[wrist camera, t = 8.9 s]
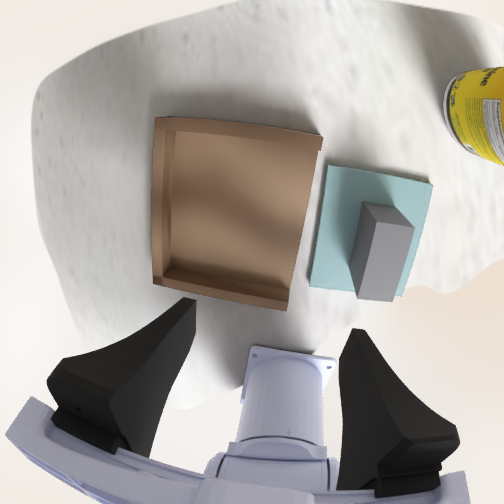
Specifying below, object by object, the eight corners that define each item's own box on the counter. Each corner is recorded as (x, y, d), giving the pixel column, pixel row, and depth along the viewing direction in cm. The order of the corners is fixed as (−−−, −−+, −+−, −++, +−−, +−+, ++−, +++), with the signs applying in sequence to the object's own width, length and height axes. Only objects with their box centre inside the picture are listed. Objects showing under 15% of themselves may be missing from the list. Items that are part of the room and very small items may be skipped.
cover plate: (398, 289, 22) (416, 328, 18) (309, 279, 23) (310, 320, 18) (427, 181, 18) (459, 202, 14) (326, 163, 19) (336, 178, 14)
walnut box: (287, 294, 23) (286, 311, 21) (163, 270, 24) (153, 283, 22) (320, 135, 18) (323, 137, 16) (169, 116, 18) (155, 117, 17)
